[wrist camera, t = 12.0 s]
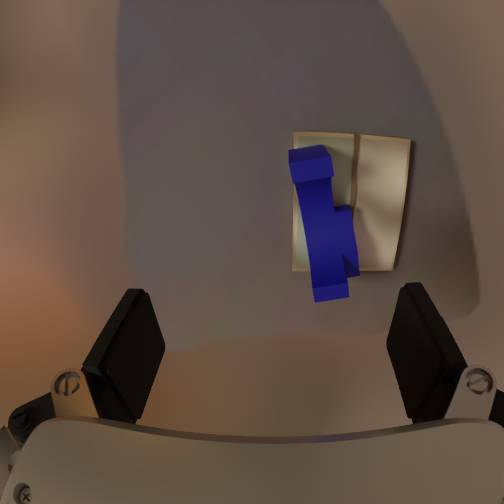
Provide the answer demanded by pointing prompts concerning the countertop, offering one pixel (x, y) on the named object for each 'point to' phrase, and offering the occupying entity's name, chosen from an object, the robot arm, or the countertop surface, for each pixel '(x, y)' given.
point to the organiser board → (361, 193)
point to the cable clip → (324, 224)
